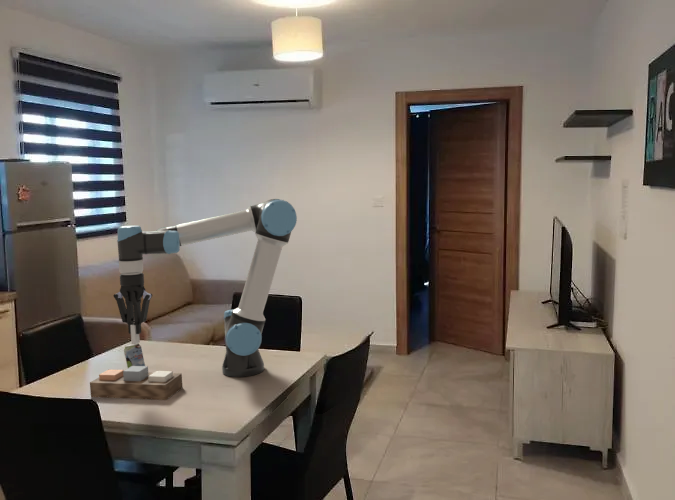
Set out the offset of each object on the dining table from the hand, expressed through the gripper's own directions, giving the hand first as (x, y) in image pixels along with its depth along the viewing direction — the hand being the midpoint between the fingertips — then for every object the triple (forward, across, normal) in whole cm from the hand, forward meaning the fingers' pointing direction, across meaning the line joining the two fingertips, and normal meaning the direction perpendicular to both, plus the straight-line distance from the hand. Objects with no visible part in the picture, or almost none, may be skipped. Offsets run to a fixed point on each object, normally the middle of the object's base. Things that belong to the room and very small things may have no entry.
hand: (135, 343), depth 211 cm
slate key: (+13, +1, 0) cm, 13 cm away
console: (+17, +1, 0) cm, 17 cm away
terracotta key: (+15, +10, -1) cm, 17 cm away
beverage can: (+17, +10, -18) cm, 27 cm away
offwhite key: (+14, -8, 0) cm, 16 cm away
